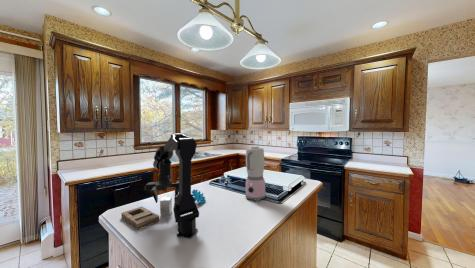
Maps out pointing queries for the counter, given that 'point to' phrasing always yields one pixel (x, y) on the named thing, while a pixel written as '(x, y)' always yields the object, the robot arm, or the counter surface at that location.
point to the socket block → (140, 217)
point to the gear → (198, 196)
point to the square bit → (166, 206)
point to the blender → (255, 173)
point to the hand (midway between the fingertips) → (166, 202)
